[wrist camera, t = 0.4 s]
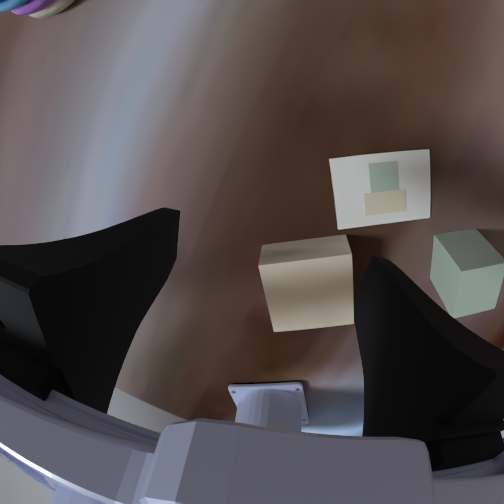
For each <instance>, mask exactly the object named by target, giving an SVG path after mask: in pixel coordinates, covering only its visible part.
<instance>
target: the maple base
mask: <svg viewBox="0 0 504 504" xmlns="http://www.w3.org/2000/svg"><path fill="white" fill-rule="evenodd" d="M258 266H259V270H260V275H261V279H262V283H263V287H264V292H265V296H266V300H267V304H268V309H269V313H270V317H271V321H272V326H273V330H274V332H279V331H291V330H302V329H312V328H321V327H330V326H339V325H347V324H354V304H353V267H352V253H351V250H350V246H349V243H348V240H347V237H346V234H345V235H337V236H330V237H322V238H314V239H306V240H298V241H290V242H282V243H274V244H267V245H262V249H261V254H260V259H259V265H258Z"/></svg>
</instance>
